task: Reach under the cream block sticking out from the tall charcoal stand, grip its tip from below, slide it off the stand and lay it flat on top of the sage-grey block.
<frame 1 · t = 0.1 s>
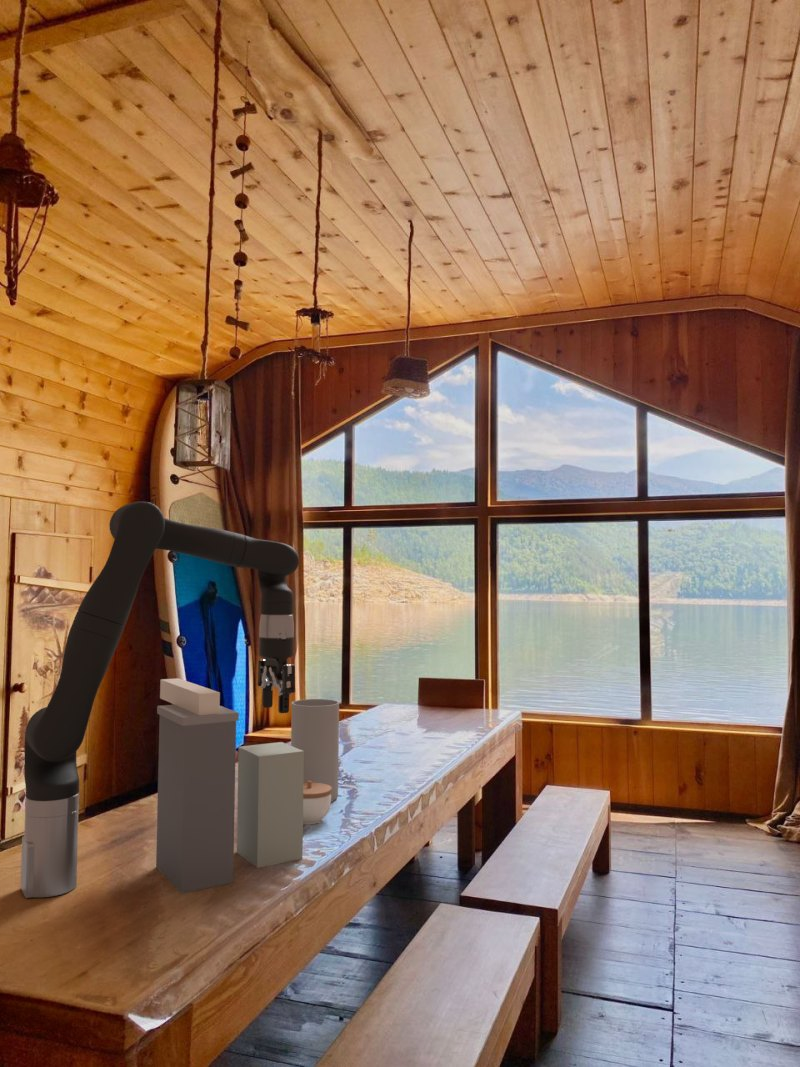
hand: (275, 710, 177), 29 cm above the table, tool pointing down, fingers open, 8 cm apart
sage-grey block: (269, 855, 170), on the table
charcoal stand: (193, 874, 159), on the table
lidded jar: (309, 821, 195), on the table
cylinder vase: (314, 799, 214), on the table
cream block: (188, 705, 165), point 32 cm above the table, touching charcoal stand
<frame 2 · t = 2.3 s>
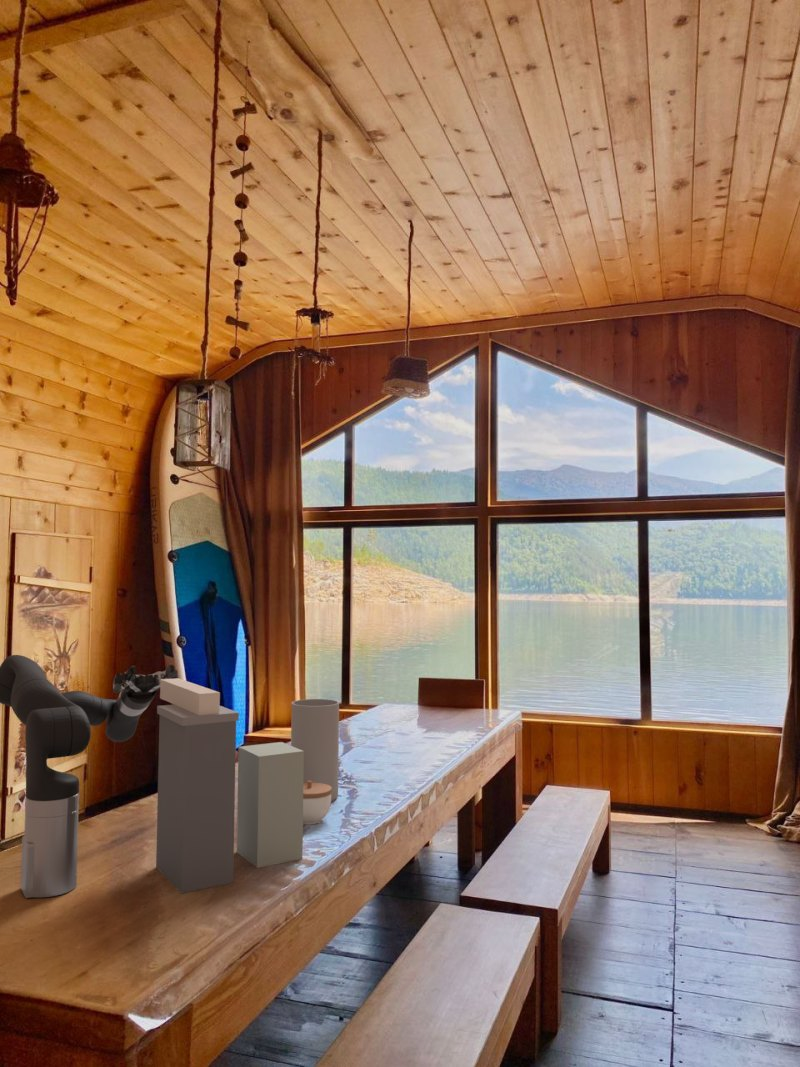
hand: (153, 668, 187), 37 cm above the table, tool pointing upward, fingers open, 8 cm apart
nothing on the table moved.
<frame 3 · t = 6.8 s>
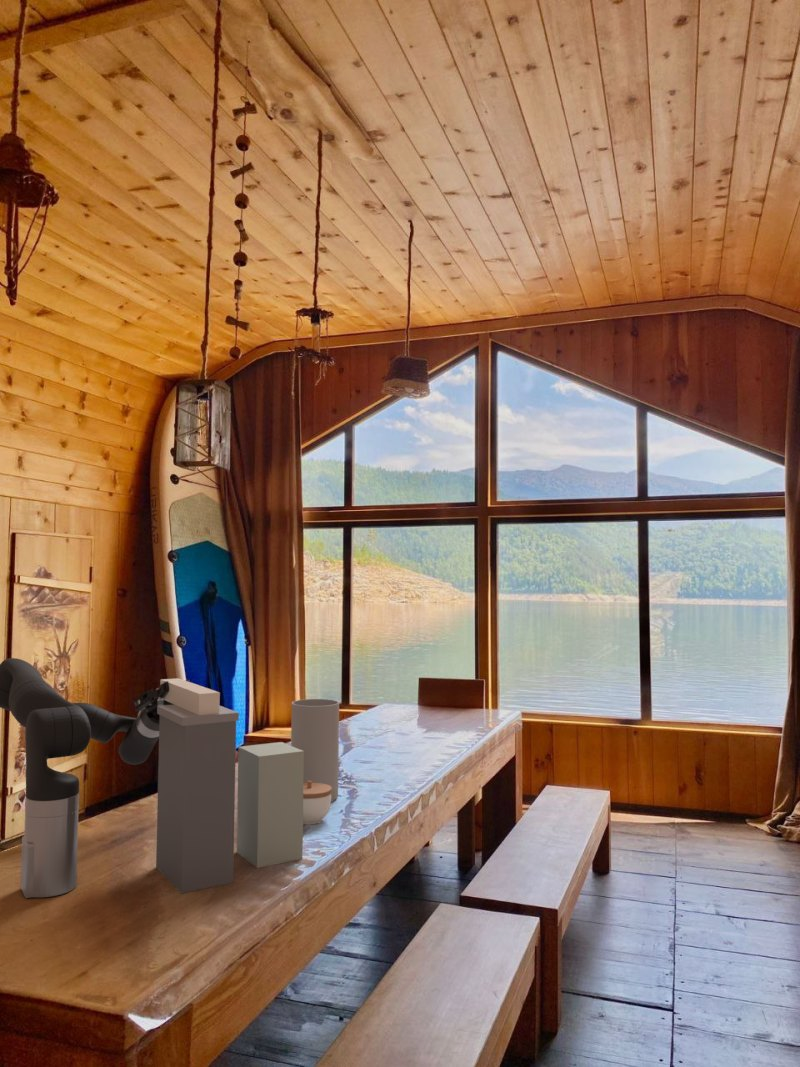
hand: (178, 684, 171), 35 cm above the table, tool pointing upward, fingers closed on cream block, 4 cm apart
cream block: (188, 705, 165), point 32 cm above the table, touching charcoal stand, gripper
everything else where it was.
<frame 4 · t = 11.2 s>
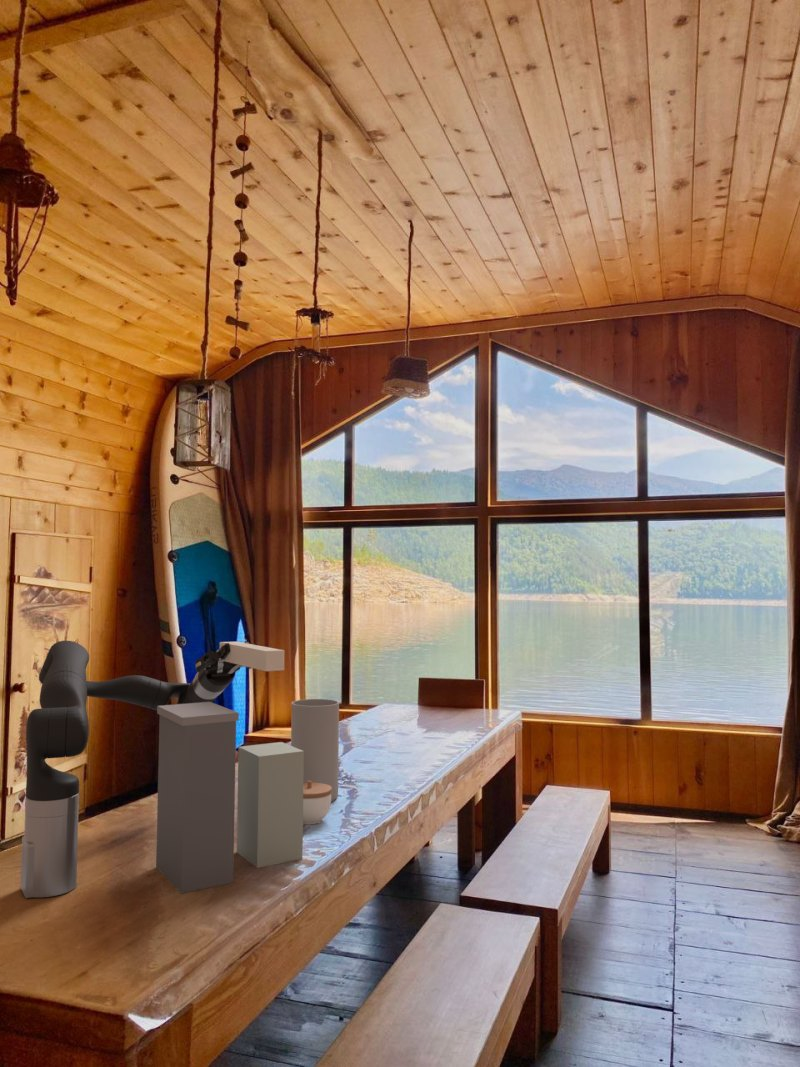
hand: (238, 646, 180), 43 cm above the table, tool pointing upward, fingers closed on cream block, 4 cm apart
cream block: (250, 664, 174), point 39 cm above the table, touching gripper
everything else where it was.
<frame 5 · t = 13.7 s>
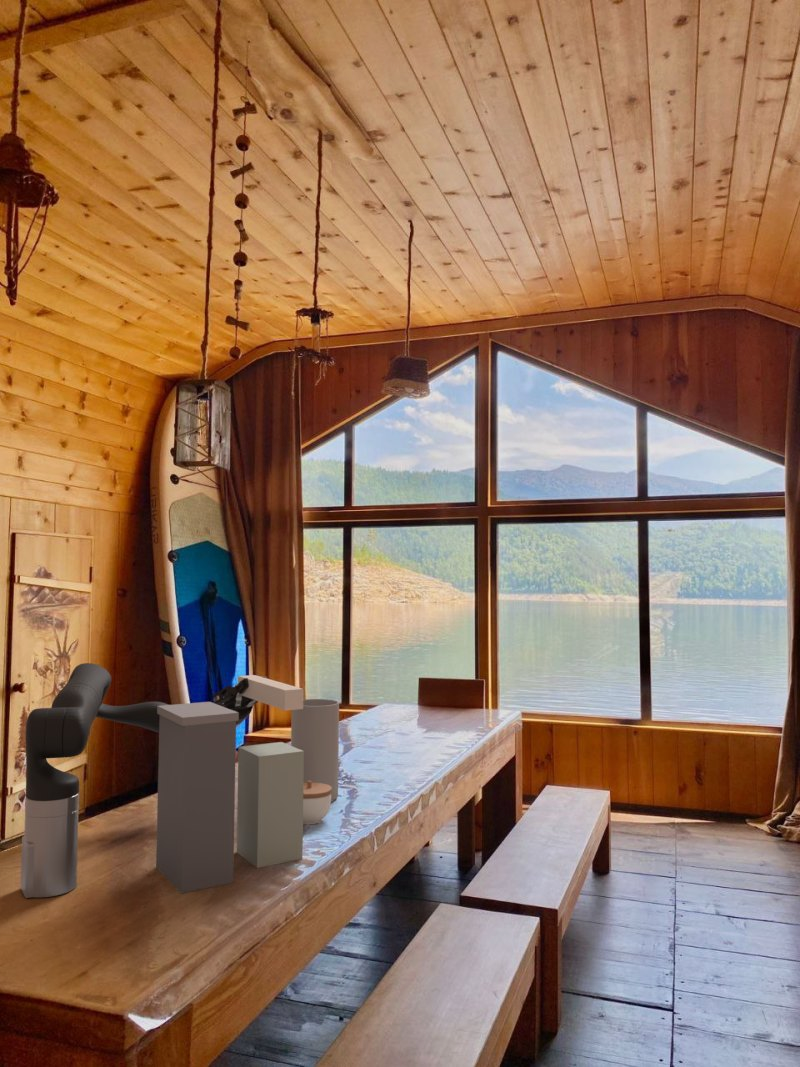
hand: (256, 681, 179), 35 cm above the table, tool pointing upward, fingers closed on cream block, 4 cm apart
cream block: (268, 701, 173), point 32 cm above the table, touching gripper
everything else where it was.
when the fingers open (27 cm above the table, at t = 15.9 s): cream block drops 2 cm, resting on sage-grey block.
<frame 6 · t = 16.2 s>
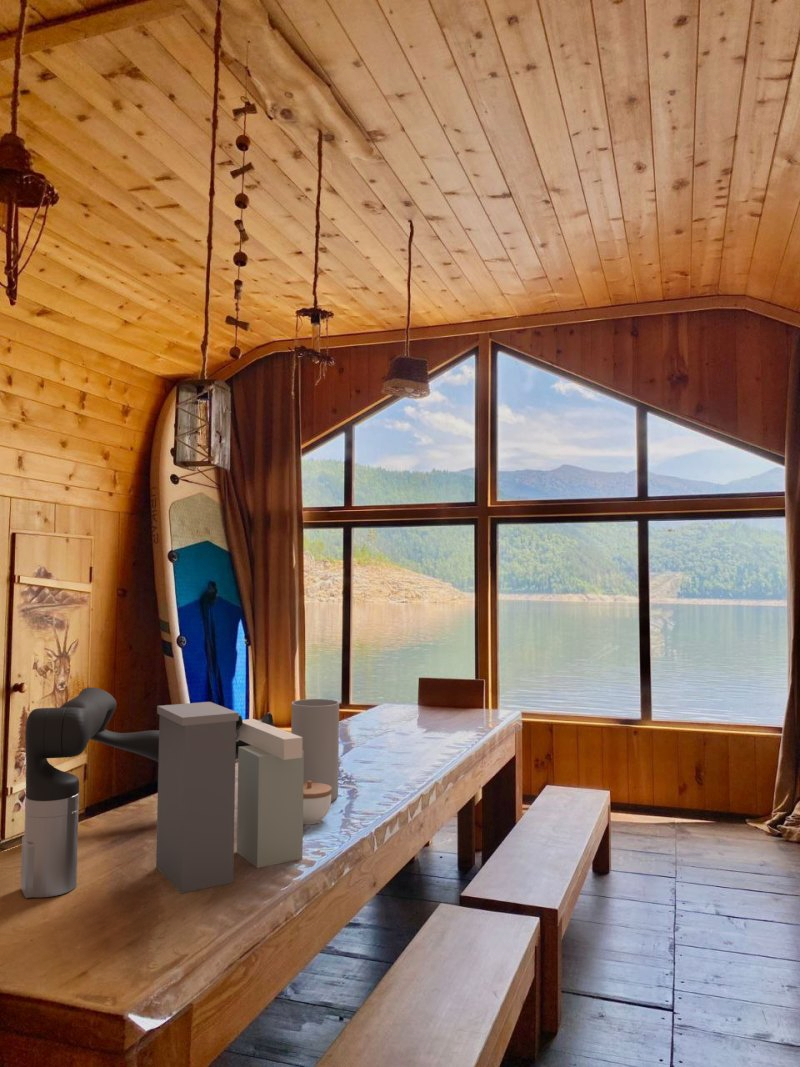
hand: (255, 718, 179), 27 cm above the table, tool pointing upward, fingers open, 6 cm apart
cream block: (267, 747, 173), point 22 cm above the table, touching sage-grey block
everything else where it was.
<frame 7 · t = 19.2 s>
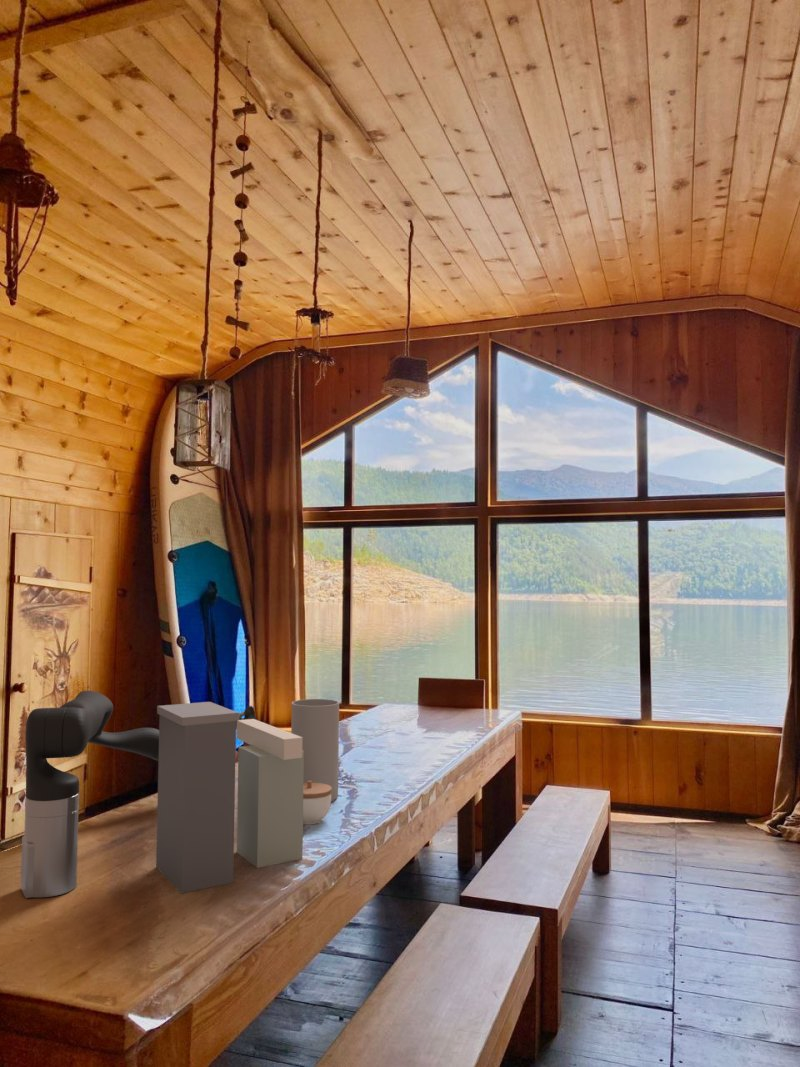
hand: (234, 711, 189), 27 cm above the table, tool pointing upward, fingers open, 8 cm apart
nothing on the table moved.
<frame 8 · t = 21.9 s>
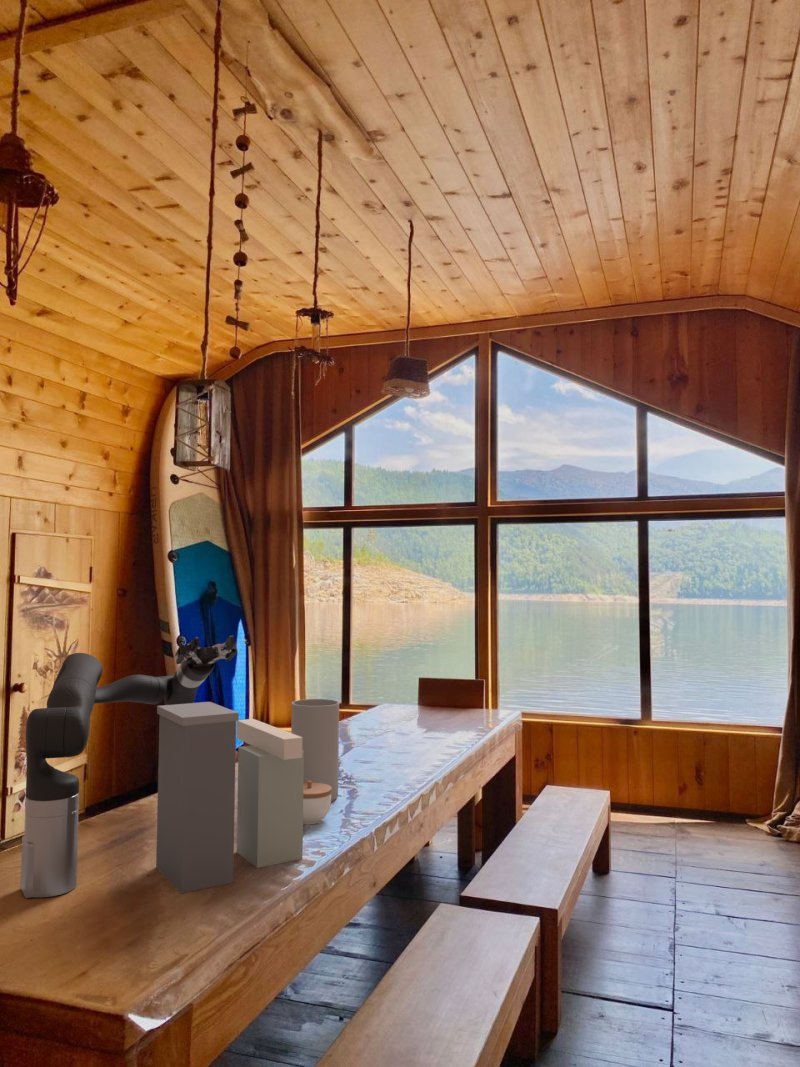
hand: (215, 639, 196), 43 cm above the table, tool pointing upward, fingers open, 8 cm apart
nothing on the table moved.
at the end: cream block touching sage-grey block; cream block inside the target area on the sage-grey block (0.2 cm from its centre), point 22.0 cm above the sage-grey block's base; the gripper is holding nothing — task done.
